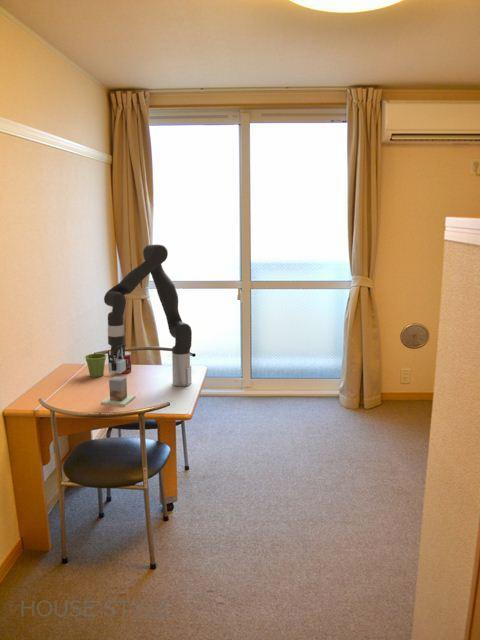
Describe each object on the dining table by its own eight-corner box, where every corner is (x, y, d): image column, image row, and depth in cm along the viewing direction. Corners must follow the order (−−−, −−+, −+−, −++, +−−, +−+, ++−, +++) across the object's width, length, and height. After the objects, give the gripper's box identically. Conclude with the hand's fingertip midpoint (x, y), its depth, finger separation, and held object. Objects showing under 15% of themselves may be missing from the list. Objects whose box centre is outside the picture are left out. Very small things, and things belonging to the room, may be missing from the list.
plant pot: (109, 372, 289) (108, 353, 287) (105, 378, 278) (104, 358, 275) (88, 372, 289) (87, 353, 287) (82, 378, 277) (81, 358, 275)
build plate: (135, 397, 250) (135, 395, 250) (124, 406, 239) (124, 404, 238) (112, 395, 253) (112, 393, 253) (101, 404, 241) (101, 402, 241)
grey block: (126, 387, 247) (126, 377, 246) (121, 391, 241) (120, 381, 240) (115, 386, 248) (114, 376, 247) (109, 390, 242) (109, 380, 241)
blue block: (125, 369, 245) (125, 359, 244) (120, 373, 239) (120, 363, 238) (114, 368, 246) (113, 358, 245) (108, 372, 240) (108, 362, 239)
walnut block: (127, 397, 248) (126, 387, 247) (121, 401, 242) (121, 391, 241) (115, 396, 249) (115, 386, 248) (109, 400, 243) (109, 390, 242)
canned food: (121, 374, 285) (120, 355, 283) (115, 371, 291) (114, 352, 289) (134, 372, 290) (133, 353, 288) (127, 368, 296) (126, 350, 294)
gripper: (116, 338, 231) (117, 373, 235) (130, 331, 245) (131, 365, 249) (101, 337, 233) (102, 372, 236) (115, 330, 247) (116, 363, 250)
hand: (117, 368), depth 242 cm, fingers closed on blue block, 6 cm apart
